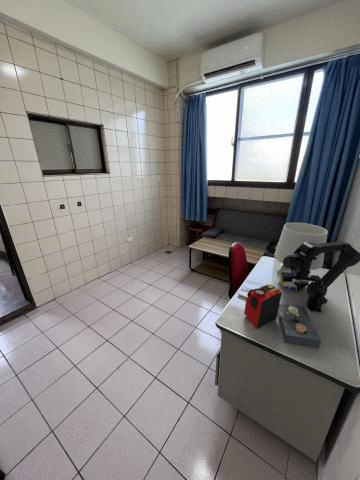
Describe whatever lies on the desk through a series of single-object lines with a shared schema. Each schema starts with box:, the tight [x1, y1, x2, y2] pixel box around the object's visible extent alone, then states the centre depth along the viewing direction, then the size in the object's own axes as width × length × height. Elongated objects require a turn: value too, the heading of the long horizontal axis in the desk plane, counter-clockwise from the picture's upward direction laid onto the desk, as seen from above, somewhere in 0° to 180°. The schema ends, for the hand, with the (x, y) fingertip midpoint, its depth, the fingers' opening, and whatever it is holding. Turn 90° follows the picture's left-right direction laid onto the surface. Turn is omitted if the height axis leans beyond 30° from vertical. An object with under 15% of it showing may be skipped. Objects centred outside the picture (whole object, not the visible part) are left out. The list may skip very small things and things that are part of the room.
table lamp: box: [273, 222, 328, 292], centre depth 128 cm, size 27×27×40 cm
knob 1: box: [288, 306, 298, 315], centre depth 106 cm, size 4×4×6 cm
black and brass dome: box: [293, 313, 301, 322], centre depth 99 cm, size 3×3×4 cm
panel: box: [276, 303, 322, 350], centre depth 100 cm, size 14×22×5 cm, turn 168°
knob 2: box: [295, 323, 306, 333], centre depth 95 cm, size 4×4×6 cm
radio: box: [243, 284, 283, 330], centre depth 103 cm, size 16×10×20 cm, turn 118°
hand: (297, 291), depth 109 cm, fingers closed
